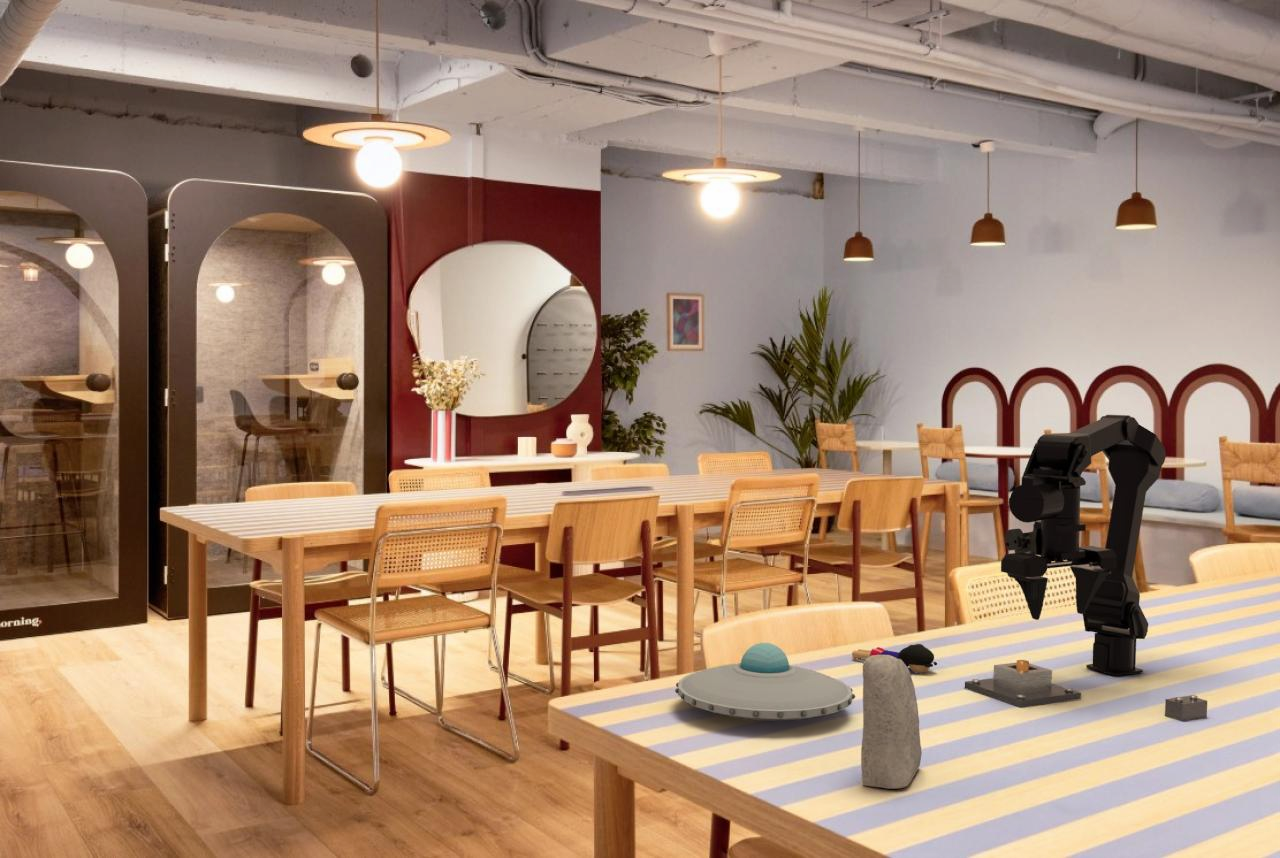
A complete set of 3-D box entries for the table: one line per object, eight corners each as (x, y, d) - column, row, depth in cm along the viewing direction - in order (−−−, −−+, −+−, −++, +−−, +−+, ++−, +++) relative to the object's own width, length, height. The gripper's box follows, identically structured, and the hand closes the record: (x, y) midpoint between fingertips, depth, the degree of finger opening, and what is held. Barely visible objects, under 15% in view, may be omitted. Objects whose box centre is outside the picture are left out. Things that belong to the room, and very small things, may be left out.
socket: (1022, 680, 190) (1023, 661, 190) (1051, 689, 184) (1052, 670, 184) (993, 684, 187) (993, 665, 187) (1021, 693, 182) (1021, 674, 182)
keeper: (1023, 680, 194) (1024, 649, 194) (1080, 699, 183) (1081, 666, 183) (964, 688, 189) (965, 656, 188) (1020, 707, 178) (1021, 673, 178)
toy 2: (838, 668, 203) (918, 681, 193) (838, 641, 203) (918, 652, 193) (871, 658, 210) (950, 670, 200) (871, 632, 210) (949, 642, 200)
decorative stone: (883, 760, 152) (886, 642, 152) (930, 768, 149) (933, 648, 149) (853, 785, 143) (856, 659, 142) (903, 794, 140) (906, 666, 139)
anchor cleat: (1189, 711, 177) (1189, 692, 177) (1206, 717, 174) (1207, 697, 174) (1164, 715, 175) (1165, 696, 175) (1182, 721, 172) (1183, 701, 172)
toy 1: (637, 712, 172) (638, 642, 172) (744, 680, 192) (745, 617, 191) (788, 751, 155) (789, 674, 155) (888, 712, 175) (890, 643, 174)
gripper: (1066, 506, 198) (1065, 601, 199) (977, 513, 190) (975, 612, 191) (1120, 515, 188) (1118, 614, 189) (1028, 522, 180) (1026, 626, 181)
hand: (1058, 616), depth 188 cm, fingers open, 9 cm apart
